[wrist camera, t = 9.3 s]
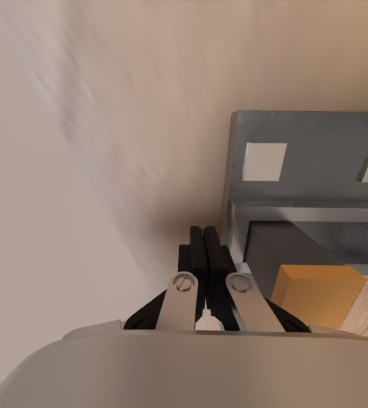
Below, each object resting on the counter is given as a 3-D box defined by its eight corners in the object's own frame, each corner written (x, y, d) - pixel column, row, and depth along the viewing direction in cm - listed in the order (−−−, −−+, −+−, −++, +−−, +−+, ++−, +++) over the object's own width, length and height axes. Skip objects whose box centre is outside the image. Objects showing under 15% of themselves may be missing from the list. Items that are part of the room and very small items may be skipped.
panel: (410, 115, 11) (473, 110, 9) (326, 296, 18) (350, 323, 15) (232, 113, 11) (245, 107, 9) (213, 295, 18) (217, 321, 15)
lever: (288, 217, 12) (366, 279, 7) (279, 252, 14) (339, 328, 8) (245, 216, 12) (290, 278, 7) (239, 252, 14) (274, 327, 8)
